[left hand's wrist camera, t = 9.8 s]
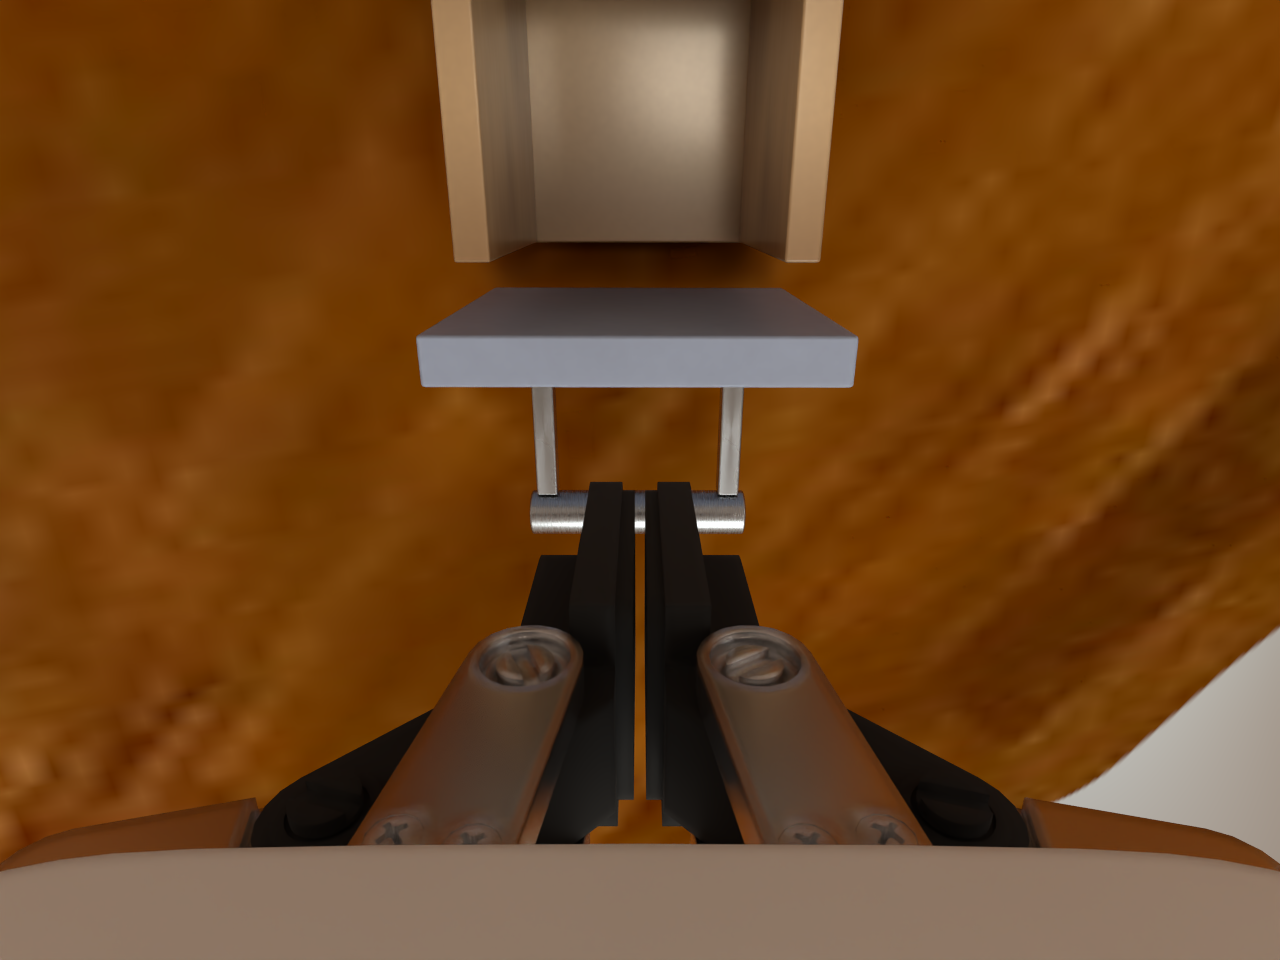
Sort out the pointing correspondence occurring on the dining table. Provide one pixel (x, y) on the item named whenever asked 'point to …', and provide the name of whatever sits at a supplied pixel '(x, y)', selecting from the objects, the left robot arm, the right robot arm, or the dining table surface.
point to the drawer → (637, 204)
